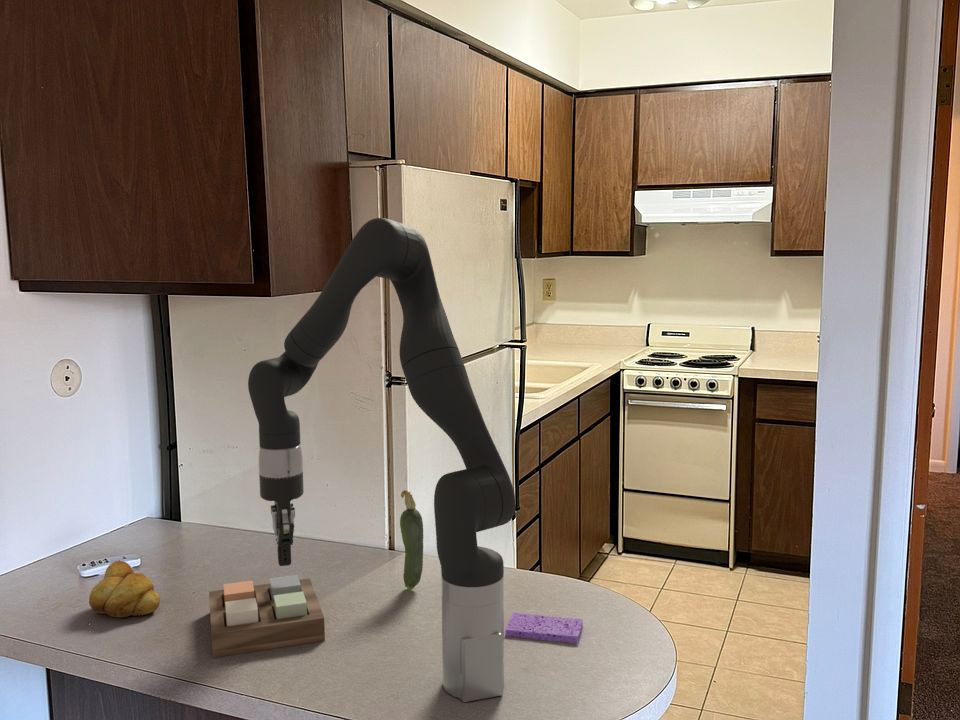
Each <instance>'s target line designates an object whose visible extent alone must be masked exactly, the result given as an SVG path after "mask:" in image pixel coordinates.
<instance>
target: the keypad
mask: <svg viewBox="0 0 960 720" xmlns="http://www.w3.org/2000/svg"><path fill="white" fill-rule="evenodd" d="M299 581H300V584H301V592H302V591H303V593H304V596H305V599H306V602H307V615H304V616H297V617H290V618H283V619H276V617H275V613H274V600H273V601H272V600H271V596H270V583H264V584H256V585H253V586H254V594H255V598H256V602H257V608H258V622H255V623H248V624H241V625H234V626H227V623H226V607H225V603H224V589H219V590H211V591H208V598H209V601H208V602H209V617H210V632H211V633H210V634H211V649H212V652H211V654H212V658H213V659H214V658H220V657H228V656H233V655H235V656H236V655H240V654H241V655H242V654H246V653H253V652H258V651H259V652H260V651H267V650H271V649H278V648H279V649H280V648H287V647H292V646H297V645H304V644H312V643H318V642H325V641H326V633H325V631H326V630H325V616H324V614H323V611H322V609H321V605H320V603H319V600H318V597H317V594H316V592H315V589H314V586H313V583H312V581H311V578H303V579H302V578H301V579H299Z"/></svg>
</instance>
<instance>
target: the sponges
mask: <svg viewBox="0 0 960 720" xmlns="http://www.w3.org/2000/svg"><path fill="white" fill-rule="evenodd" d="M583 622H584V619H583V618H573V617H563V618H562V617H561V616H554V615H553V616H550V615H546V614H545V615H544V614H536V613H535V614H533V613H525V612H518V611H512V614H511V617H510V619H509V622H508V624H507V626H506V628H505V631H504V632H505V633H504V636H505V637H512V636H514V637H513V638H520V637H524V638H523V639H530V638H533V639H532V640H538V639H543V640H542V641H547V640H550V641H549V642H556V641H561V642H560V643H564V642H569V643H568V644H573V643H578V644H579V640H580V637H579V636H581V633H582V630H583ZM580 632H581V633H580Z"/></svg>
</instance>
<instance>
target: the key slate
mask: <svg viewBox="0 0 960 720" xmlns="http://www.w3.org/2000/svg"><path fill="white" fill-rule="evenodd" d="M299 580H300V577H299V575H298V574H292V575H285V576H279V577H278V576H276V577H270V578H269V584H270V596H271V600H272V601H273V600H274V595H280V594H287V593H295V592H301V584H300V581H299Z"/></svg>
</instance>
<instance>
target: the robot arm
mask: <svg viewBox="0 0 960 720" xmlns="http://www.w3.org/2000/svg"><path fill="white" fill-rule="evenodd" d="M375 278H382V279H386V280H390V282H391V283H392V286H393V287H394V289H395V292H396V295H397V297H398V301H399V303H400V307H401V310H402V319H403V320H402V321H403V323H402V328H401V335H400V342H399V360H400V361H399V362H400V366H401V369H402V372H403V374H404V378H405V380H406V385H407V386H408V387H407V388H408V390H409V394H410V395H411V397H412V399H413V400H414V402H415V404H416V405H417V406H418V407H419V409H421V410H422V412H423V413H424V414H425V415H426V416H427V417H428V418H429V419H430V420H432V421H433V422H434V423H435V424H436V425H437V426H438V428H440V429H441V430H442V431H443V432H444V433H445V435H447V436H448V437H449V439H451V441H452V443H453V444H454V445H455V447H456V449H457V451H458V453H459V454H460V457H461V459H462V461H463V463H464V466H465V468H464V469H461V470H455V471H452V472H448V473H445V474H443V475H441V477H440V478H439V479H438V481H437V482H436V484H435V485H436V486H435V489H434V494H433V495H434V496H433V497H434V498H433V511H434V521H435V523H434V525H435V539H436V552H437V557H438V560H439V563H440V568H441V569H440V571H441V572H440V573H441V575H440V576H441V631H442V632H441V638H442V639H441V641H442V643H441V644H442V646H441V647H442V654H441V655H442V686H443V689H444V691H445V692H446V693H448V694H449V695H451V696H452V697H455V698H458V699H460V700H461V701H462V702H463V703H468V702H472V701H473V702H474V701H478V700H483V699H484V700H485V699H488V698H494V697H499V696H503V695H504V686H505V649H504V648H505V642H504V641H505V637H504V636H505V633H504V632H505V631H504V628H505V627H504V626H505V624H504V623H505V621H504V620H505V619H504V618H505V617H504V615H505V613H504V612H505V611H504V610H505V609H504V608H505V607H504V606H505V605H504V597H505V596H504V593H505V592H504V589H505V588H504V587H505V586H504V584H505V583H504V582H505V581H504V579H505V578H504V575H505V573H504V569H505V568H504V564H505V563H504V559H503V556H501V554H500V553H499V552H497V551H495V550H494V549H492V548H488V547H483V546H478V538H477V533H478V532H483V531H486V530H489V529H493V528H497V527H500V526H504V525H506V524H508V523H509V522H510V521H511V520H512V519H513V518H514V515H515V512H516V503H517V502H516V495H515V491H514V486H513V483H512V480H511V478H510V475H509V473H508V471H507V469H506V466H505V464H504V461H503V459H502V458H501V456H500V453H499V451H498V449H497V447H496V444H495V442H494V441H493V438H492V436H491V434H490V432H489V430H488V427H487V425H486V423H485V420H484V417H483V415H482V412H481V410H480V407H479V405H478V402H477V399H476V397H475V394H474V391H473V388H472V385H471V382H470V378H469V376H468V372H467V369H466V366H465V363H464V360H463V358H462V355H461V352H460V350H459V349H460V348H459V347H458V345H457V342H456V340H455V337H454V334H453V331H452V328H451V325H450V322H449V318H448V316H447V313H446V311H445V308H444V307H445V306H444V305H443V302H442V299H441V296H440V292H439V289H438V285H437V281H436V276H435V271H434V266H433V263H432V258H431V254H430V251H429V247H428V245H427V242H426V240H425V238H424V236H423V234H422V233H421V232H420V231H419V230H417V229H416V228H414V227H413V226H410V225H408V224H404V223H402V222H399V221H395V220H392V219H390V218H389V219H388V218H385V217H384V218H383V217H375V218H372V219H370V220H368V221H367V222H365V223H364V224H363V225H362V226H361V227H360V228H359V230H358V231H357V232H356V234H355V235H354V237H353V238H352V240H351V241H350V243H349V245H348V247H347V248H346V250H345V251H344V254H343V255H342V257H341V259H340V260H339V262H338V264H337V265H336V267H335V268H334V270H333V272H332V273H331V276H330V277H329V279H328V281H327V282H326V284H325V286H324V288H323V289H322V291H321V292H320V294H319V296H318V297H317V299H316V300H315V301H314V303H313V304H312V305H311V307H310V308H309V309H308V310H307V311H306V312H305V313H304V315H303V316H302V317H301V318H299V320H298V322H297V323H296V324H295V325H294V327H292V328H291V330H290V331H289V333H288V334H287V336H286V337H285V339H284V342H283V346H284V350H285V351H284V352H283V353H282V354H281V355H280V356H278V357H274V358H269V359H264V360H260V361H259V362H256V363H255V364H254V366H252V368H251V370H250V372H249V375H248V381H247V387H248V393H249V397H250V401H251V404H252V407H253V411H254V414H255V416H256V419H257V422H258V439H259V440H258V441H259V442H258V443H259V445H258V446H259V451H258V452H259V453H258V473H259V474H258V476H259V479H258V480H259V494H260V498H261V499H263V500H264V501H268V502H273V503H274V504H272V505H270V508H269V509H270V515H271V518H272V529H273V533H274V535H275V542H276V549H277V563H278V566H280V567H285V566H290V565H291V564H292V550H291V549H292V547H291V546H293V543H294V532H295V521H294V519H295V518H296V508H295V507H294V503H293V502H292V503H291V501H293V500H297V499H299V498H301V497H302V496H303V495H304V492H305V491H304V489H305V487H304V464H303V463H304V461H303V454H302V448H301V447H302V446H301V423H300V422H301V421H300V418H299V415H298V414H297V413H296V412H295V411H293V410H288V408H287V405H286V401H285V398H287V397H291V396H293V395H296V393H298V392H300V391H301V390H303V388H304V387H305V386H306V385H307V384H308V383H309V381H310V380H311V379H312V376H313V374H314V373H315V371H316V369H317V367H318V364H319V362H320V361H321V360H322V359H324V357H325V356H326V355H327V353H328V352H329V351H330V350H331V349H332V348H333V346H335V344H337V343H338V341H339V340H340V338H341V337H342V336H343V334H344V332H345V329H346V328H347V325H348V323H349V322H348V321H349V318H350V314H351V310H352V306H353V304H354V302H355V300H356V298H357V296H358V295H359V294H360V292H361V291H362V290H363V288H364V287H366V286H367V285H368V284H369V283H370V282H371V281H372V280H374V279H375Z"/></svg>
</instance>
